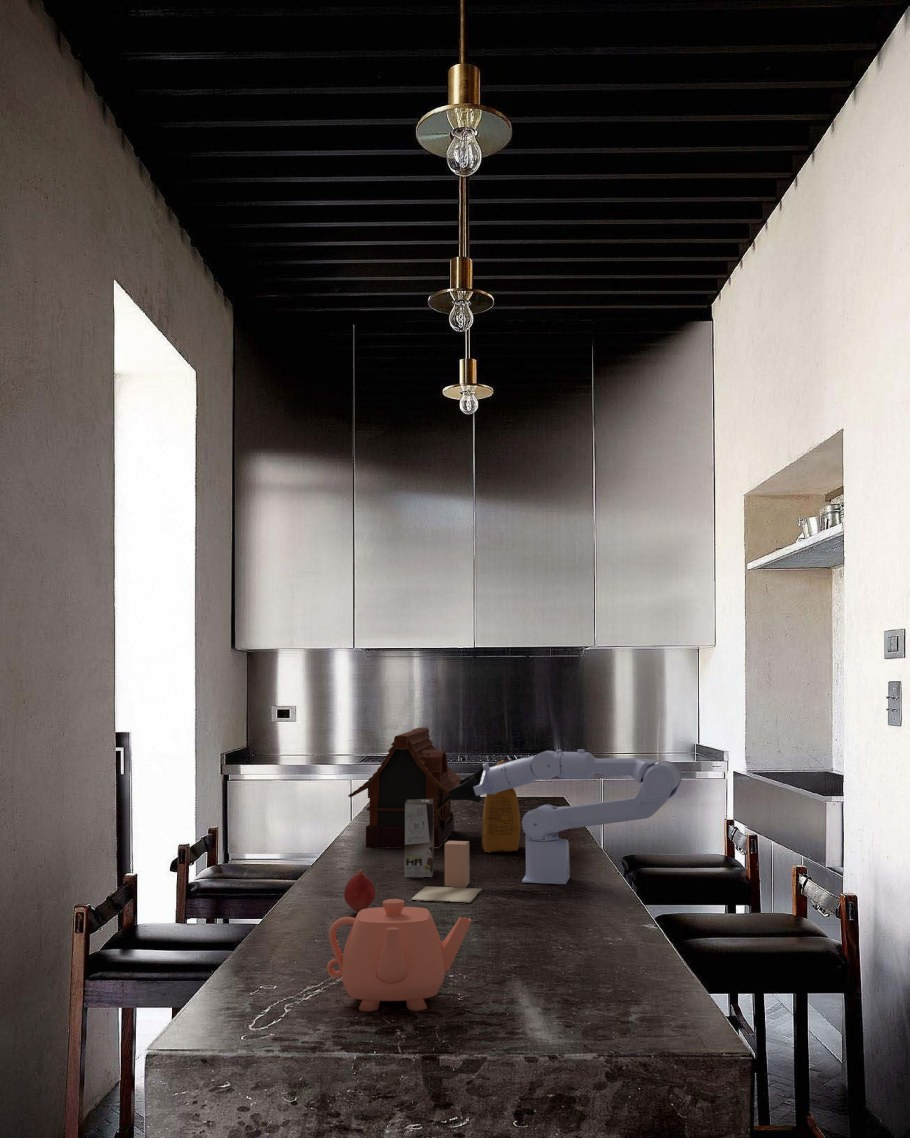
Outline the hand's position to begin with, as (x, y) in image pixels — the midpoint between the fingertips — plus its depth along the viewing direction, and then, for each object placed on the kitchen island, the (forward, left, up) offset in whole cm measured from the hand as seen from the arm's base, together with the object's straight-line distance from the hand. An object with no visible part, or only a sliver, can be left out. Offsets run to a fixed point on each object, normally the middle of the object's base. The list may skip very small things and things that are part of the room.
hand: (455, 790), depth 229 cm
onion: (+10, +39, -19) cm, 45 cm away
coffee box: (+8, +1, -19) cm, 20 cm away
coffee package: (-5, -32, -19) cm, 37 cm away
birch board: (-3, +22, -18) cm, 29 cm away
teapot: (-11, +87, -19) cm, 90 cm away
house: (+22, -45, -19) cm, 53 cm away
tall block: (-3, +12, -18) cm, 23 cm away
